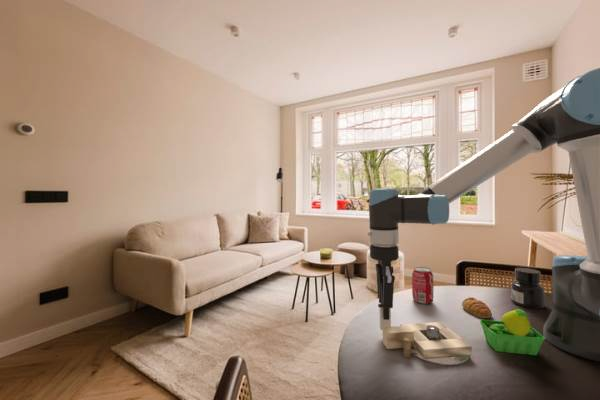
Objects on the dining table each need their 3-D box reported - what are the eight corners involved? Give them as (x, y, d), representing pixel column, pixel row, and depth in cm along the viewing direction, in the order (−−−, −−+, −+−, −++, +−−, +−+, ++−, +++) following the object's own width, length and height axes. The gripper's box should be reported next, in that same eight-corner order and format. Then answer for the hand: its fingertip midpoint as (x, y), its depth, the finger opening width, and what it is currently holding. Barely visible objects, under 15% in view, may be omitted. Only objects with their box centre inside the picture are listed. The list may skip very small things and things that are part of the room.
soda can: (429, 297, 99) (428, 266, 99) (436, 305, 92) (436, 272, 92) (409, 297, 100) (409, 266, 100) (416, 305, 93) (415, 271, 93)
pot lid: (478, 346, 68) (478, 328, 67) (455, 375, 57) (455, 354, 57) (416, 323, 80) (416, 309, 80) (388, 344, 69) (388, 327, 69)
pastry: (498, 320, 82) (498, 308, 82) (477, 320, 82) (477, 308, 82) (478, 307, 91) (478, 296, 91) (459, 307, 91) (459, 296, 91)
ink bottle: (509, 297, 99) (509, 265, 98) (541, 301, 94) (541, 268, 94) (513, 306, 91) (513, 272, 90) (547, 312, 86) (547, 276, 85)
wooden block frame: (440, 328, 75) (440, 315, 75) (471, 354, 63) (471, 338, 63) (376, 333, 73) (376, 319, 73) (395, 360, 61) (395, 343, 61)
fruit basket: (526, 341, 70) (526, 299, 69) (550, 362, 61) (551, 314, 61) (478, 337, 72) (478, 296, 72) (495, 357, 63) (495, 311, 63)
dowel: (411, 356, 64) (411, 340, 64) (408, 358, 63) (408, 342, 63) (405, 353, 65) (405, 337, 65) (402, 355, 64) (402, 339, 64)
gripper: (366, 240, 79) (367, 317, 79) (374, 249, 66) (375, 341, 67) (392, 240, 78) (393, 318, 79) (404, 249, 65) (406, 342, 66)
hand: (385, 328), depth 73 cm, fingers closed
